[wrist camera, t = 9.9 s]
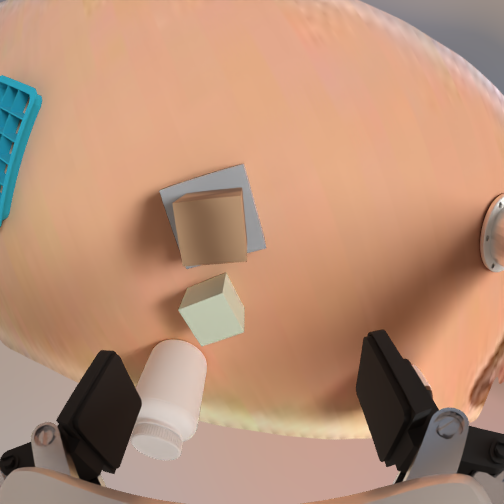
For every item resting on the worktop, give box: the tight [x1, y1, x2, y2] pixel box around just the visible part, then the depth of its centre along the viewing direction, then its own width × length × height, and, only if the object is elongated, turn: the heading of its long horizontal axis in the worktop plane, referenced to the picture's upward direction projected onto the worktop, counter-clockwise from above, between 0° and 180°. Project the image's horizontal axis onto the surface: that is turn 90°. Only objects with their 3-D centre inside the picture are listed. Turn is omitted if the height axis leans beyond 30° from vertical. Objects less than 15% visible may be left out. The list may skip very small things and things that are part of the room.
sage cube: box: [178, 273, 245, 346], centre depth 30 cm, size 5×5×5 cm
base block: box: [159, 164, 266, 269], centre depth 27 cm, size 8×8×4 cm
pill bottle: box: [131, 339, 207, 460], centre depth 28 cm, size 8×8×15 cm
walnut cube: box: [172, 187, 247, 266], centre depth 23 cm, size 5×5×5 cm
